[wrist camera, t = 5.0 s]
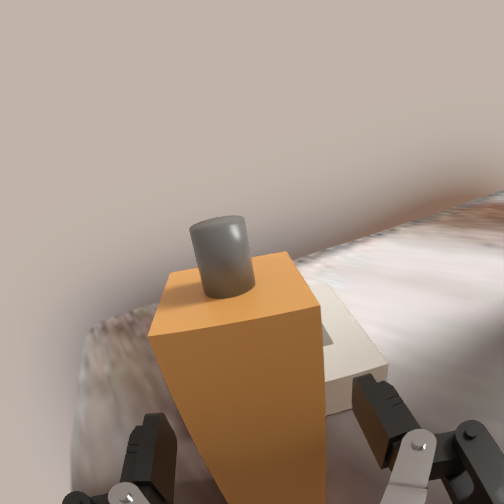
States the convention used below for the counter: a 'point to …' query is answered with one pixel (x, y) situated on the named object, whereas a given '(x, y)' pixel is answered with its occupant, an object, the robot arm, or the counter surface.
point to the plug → (246, 367)
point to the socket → (344, 350)
